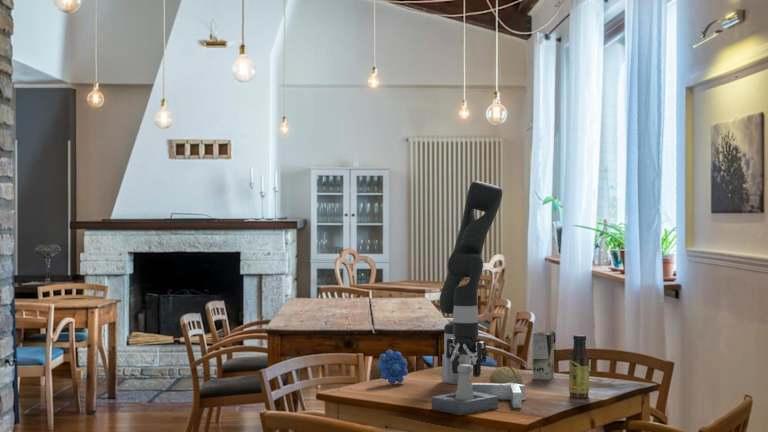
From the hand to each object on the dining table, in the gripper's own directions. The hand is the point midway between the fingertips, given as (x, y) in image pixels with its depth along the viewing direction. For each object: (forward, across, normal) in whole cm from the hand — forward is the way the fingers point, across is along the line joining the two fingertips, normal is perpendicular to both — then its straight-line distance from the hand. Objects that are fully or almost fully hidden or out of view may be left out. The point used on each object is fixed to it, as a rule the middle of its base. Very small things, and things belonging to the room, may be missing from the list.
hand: (466, 374), depth 249 cm
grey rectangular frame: (+10, 0, 0) cm, 10 cm away
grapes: (+10, +43, -9) cm, 45 cm away
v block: (+10, 0, -18) cm, 21 cm away
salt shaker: (+10, 0, 0) cm, 10 cm away
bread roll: (+10, +11, -31) cm, 34 cm away
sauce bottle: (+10, -11, -41) cm, 43 cm away
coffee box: (+10, +19, -60) cm, 64 cm away
